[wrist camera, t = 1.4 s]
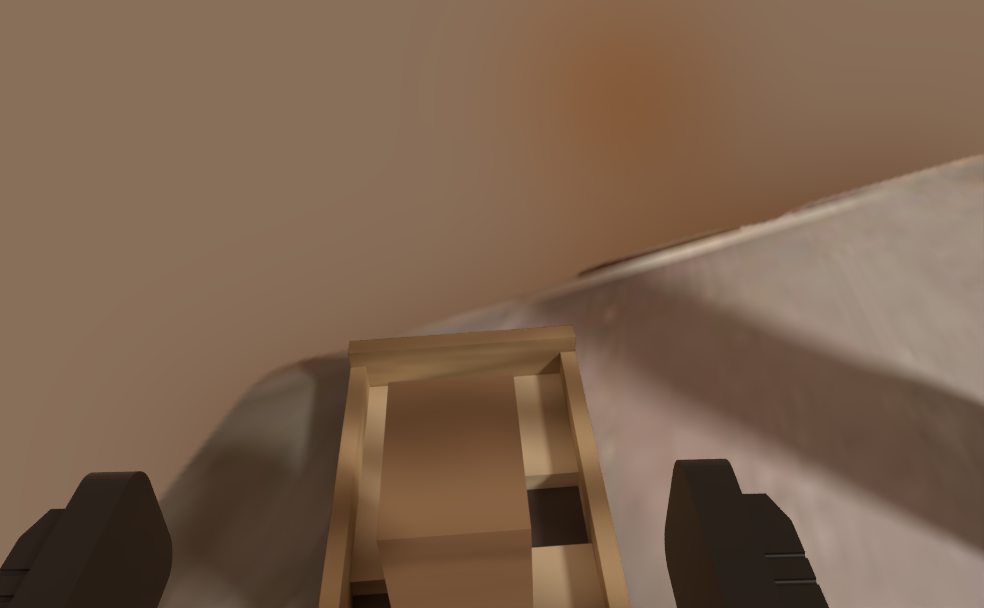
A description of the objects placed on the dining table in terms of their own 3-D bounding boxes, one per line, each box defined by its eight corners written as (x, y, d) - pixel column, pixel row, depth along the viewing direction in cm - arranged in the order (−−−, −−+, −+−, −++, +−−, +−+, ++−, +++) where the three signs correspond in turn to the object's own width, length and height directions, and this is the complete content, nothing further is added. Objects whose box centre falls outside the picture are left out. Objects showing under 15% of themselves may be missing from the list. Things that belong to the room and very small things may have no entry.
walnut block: (537, 742, 27) (531, 528, 20) (423, 751, 27) (376, 540, 20) (522, 590, 32) (513, 373, 25) (425, 597, 32) (388, 382, 25)
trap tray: (660, 811, 27) (670, 762, 24) (307, 839, 26) (284, 794, 24) (571, 376, 44) (572, 325, 42) (359, 391, 44) (349, 341, 42)
